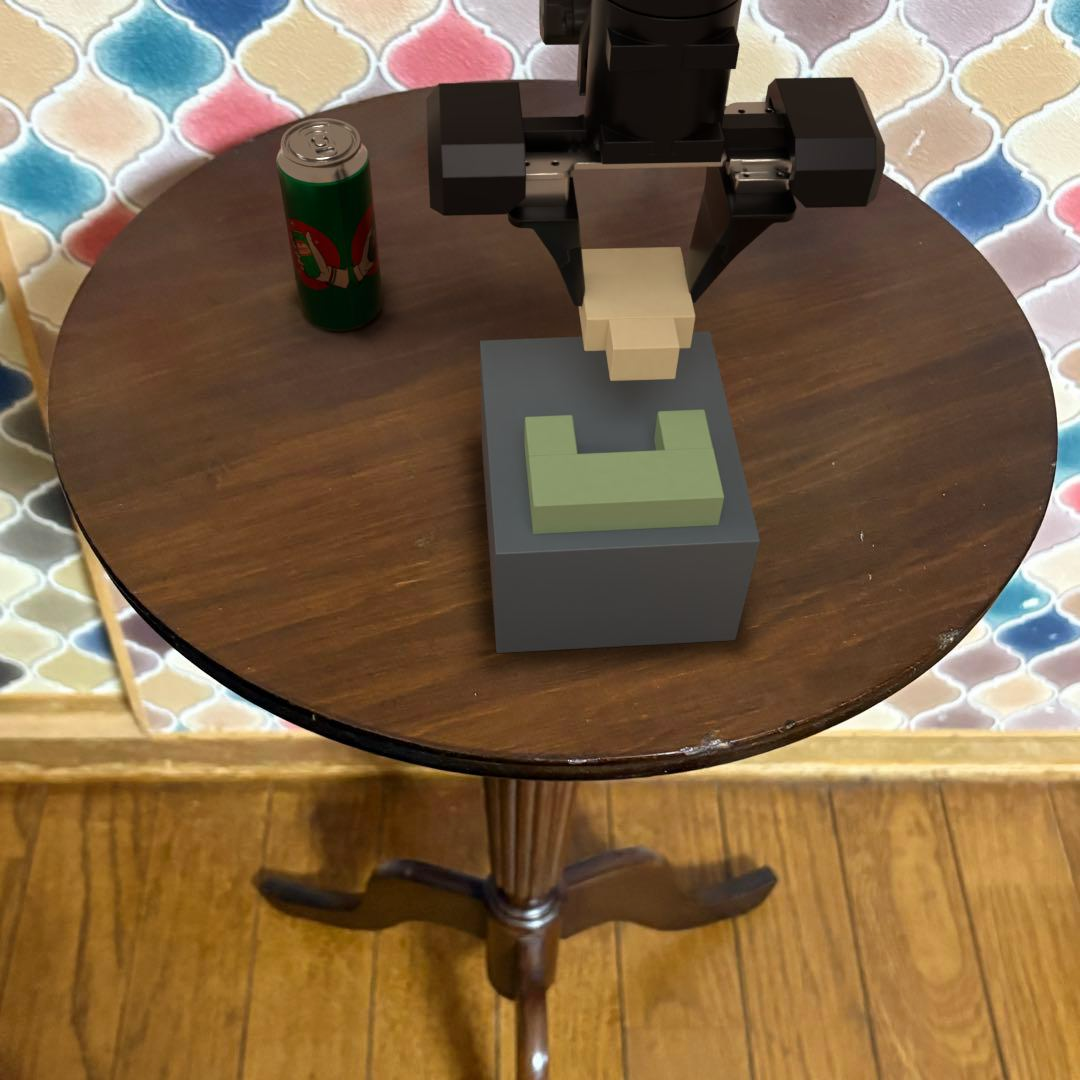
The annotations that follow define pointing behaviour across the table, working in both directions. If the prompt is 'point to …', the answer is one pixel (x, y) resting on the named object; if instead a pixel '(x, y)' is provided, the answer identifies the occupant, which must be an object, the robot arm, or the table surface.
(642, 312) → the cream pad
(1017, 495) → the table surface
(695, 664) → the table surface
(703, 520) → the green pad
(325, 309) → the soda can
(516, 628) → the block
